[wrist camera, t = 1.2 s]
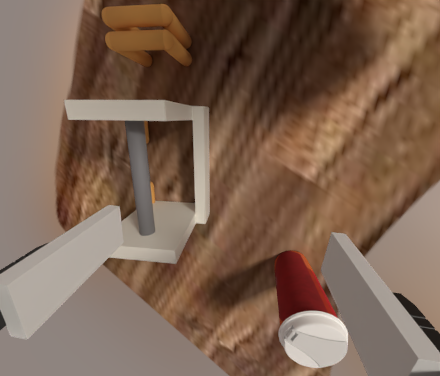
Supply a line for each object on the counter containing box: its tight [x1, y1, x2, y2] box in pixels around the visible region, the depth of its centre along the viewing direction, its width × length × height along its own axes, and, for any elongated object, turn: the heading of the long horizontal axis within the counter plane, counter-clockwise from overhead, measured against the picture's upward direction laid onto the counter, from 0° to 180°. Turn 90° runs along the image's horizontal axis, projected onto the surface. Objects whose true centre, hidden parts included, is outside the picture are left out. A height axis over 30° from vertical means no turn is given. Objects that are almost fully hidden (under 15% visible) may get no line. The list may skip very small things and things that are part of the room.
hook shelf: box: [64, 100, 210, 264], centre depth 29 cm, size 18×12×14 cm, turn 179°
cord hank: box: [102, 4, 192, 67], centre depth 26 cm, size 8×4×9 cm, turn 89°
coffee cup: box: [275, 251, 348, 368], centre depth 32 cm, size 8×8×15 cm
